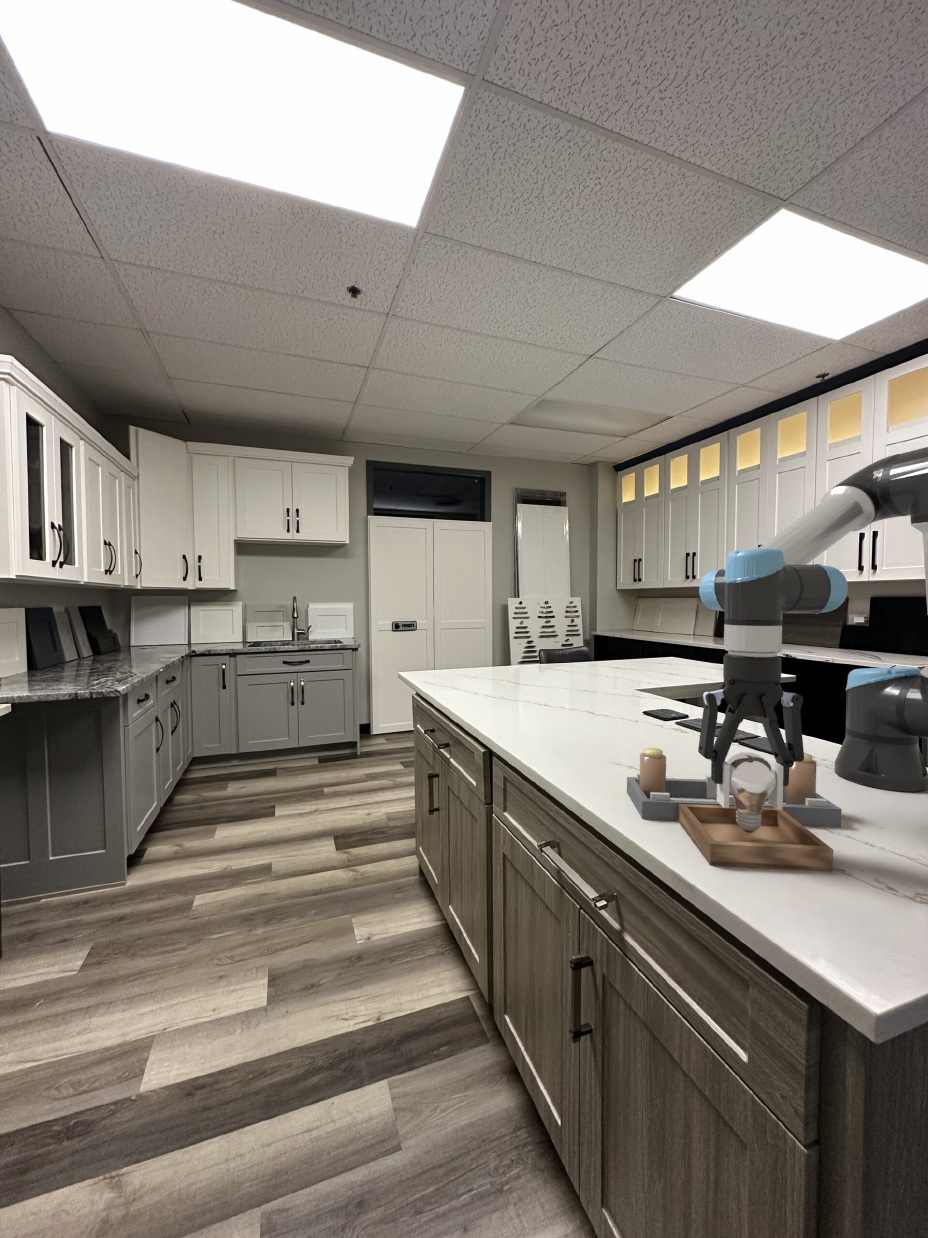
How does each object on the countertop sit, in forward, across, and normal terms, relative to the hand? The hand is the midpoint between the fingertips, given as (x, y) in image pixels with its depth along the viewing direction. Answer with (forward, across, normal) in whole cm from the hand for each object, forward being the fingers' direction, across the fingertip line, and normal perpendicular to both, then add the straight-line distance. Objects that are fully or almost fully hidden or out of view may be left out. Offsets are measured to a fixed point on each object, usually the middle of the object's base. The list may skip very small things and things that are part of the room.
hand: (748, 805), depth 77 cm
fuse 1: (+6, +11, -14) cm, 18 cm away
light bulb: (+4, 0, 0) cm, 4 cm away
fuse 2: (+6, -14, -14) cm, 21 cm away
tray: (+6, 0, 0) cm, 6 cm away
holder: (+6, -2, -14) cm, 15 cm away
